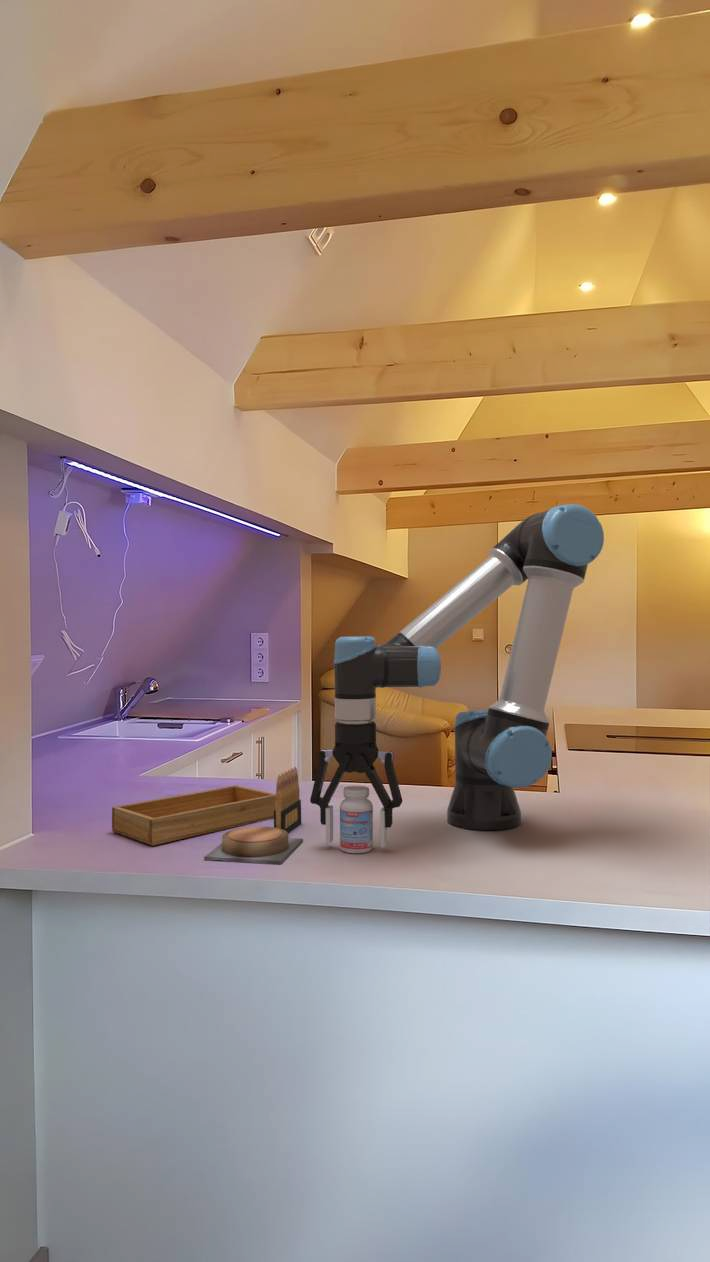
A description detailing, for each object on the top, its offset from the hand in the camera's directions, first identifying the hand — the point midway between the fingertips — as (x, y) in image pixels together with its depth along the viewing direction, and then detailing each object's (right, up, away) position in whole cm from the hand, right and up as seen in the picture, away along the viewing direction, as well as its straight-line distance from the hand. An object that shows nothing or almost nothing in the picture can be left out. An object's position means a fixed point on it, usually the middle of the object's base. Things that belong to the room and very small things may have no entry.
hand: (356, 843), depth 142 cm
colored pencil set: (-14, -1, +14) cm, 19 cm away
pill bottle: (0, -1, 0) cm, 1 cm away
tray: (-33, -2, +19) cm, 38 cm away
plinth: (-18, -1, 0) cm, 18 cm away
